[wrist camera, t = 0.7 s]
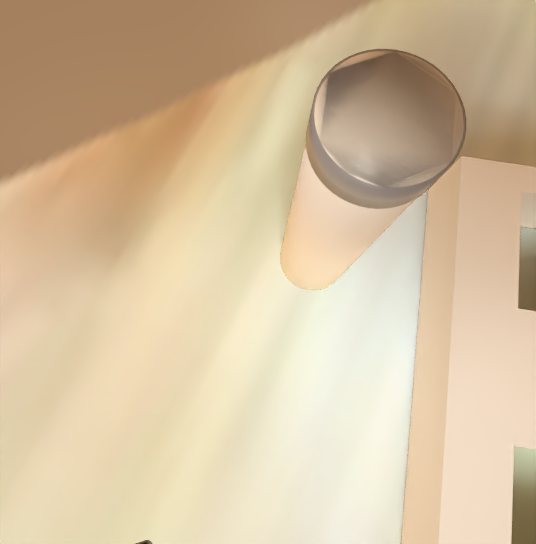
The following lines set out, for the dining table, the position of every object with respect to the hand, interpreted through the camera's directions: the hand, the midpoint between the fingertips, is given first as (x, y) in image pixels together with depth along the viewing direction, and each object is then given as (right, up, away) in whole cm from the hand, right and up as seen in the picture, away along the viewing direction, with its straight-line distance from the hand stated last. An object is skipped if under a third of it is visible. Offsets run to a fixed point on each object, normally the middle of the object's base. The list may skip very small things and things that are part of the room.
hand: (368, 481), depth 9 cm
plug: (0, +5, +14) cm, 15 cm away
